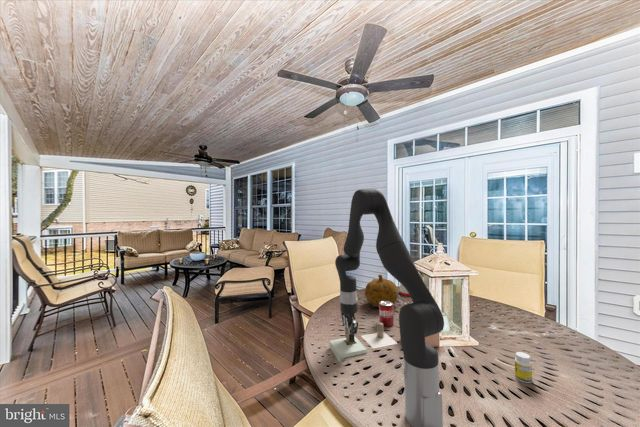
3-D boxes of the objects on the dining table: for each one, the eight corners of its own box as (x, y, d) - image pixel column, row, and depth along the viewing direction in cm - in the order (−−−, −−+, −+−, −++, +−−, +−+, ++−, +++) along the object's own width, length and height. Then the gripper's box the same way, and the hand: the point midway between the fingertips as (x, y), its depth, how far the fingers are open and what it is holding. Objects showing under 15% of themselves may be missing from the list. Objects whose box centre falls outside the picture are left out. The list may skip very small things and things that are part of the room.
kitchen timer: (399, 295, 180) (398, 274, 179) (399, 289, 193) (399, 269, 192) (420, 297, 175) (420, 275, 175) (419, 290, 188) (419, 270, 188)
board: (398, 346, 113) (397, 329, 113) (373, 352, 110) (372, 334, 110) (383, 334, 125) (383, 319, 125) (360, 339, 121) (360, 323, 121)
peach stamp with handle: (439, 348, 110) (438, 314, 110) (417, 353, 107) (416, 318, 107) (422, 337, 121) (421, 305, 121) (401, 341, 118) (400, 309, 118)
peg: (355, 348, 112) (354, 325, 112) (348, 349, 111) (347, 326, 111) (351, 344, 115) (351, 322, 115) (345, 346, 114) (344, 323, 114)
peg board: (367, 356, 107) (366, 349, 107) (339, 362, 103) (339, 354, 103) (354, 342, 118) (354, 336, 118) (329, 347, 115) (329, 340, 115)
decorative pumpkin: (403, 300, 167) (400, 270, 165) (393, 315, 149) (390, 281, 148) (373, 297, 177) (370, 268, 176) (361, 310, 160) (357, 278, 159)
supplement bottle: (515, 372, 93) (514, 349, 93) (532, 378, 90) (531, 353, 90) (514, 379, 89) (514, 355, 89) (532, 385, 86) (531, 360, 86)
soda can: (394, 330, 129) (393, 306, 129) (379, 329, 130) (378, 305, 130) (393, 323, 136) (392, 301, 136) (379, 323, 137) (378, 300, 137)
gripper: (334, 296, 119) (336, 334, 119) (347, 307, 105) (348, 349, 105) (350, 294, 121) (351, 331, 121) (363, 304, 107) (365, 346, 107)
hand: (349, 339), depth 113 cm, fingers open, 3 cm apart
